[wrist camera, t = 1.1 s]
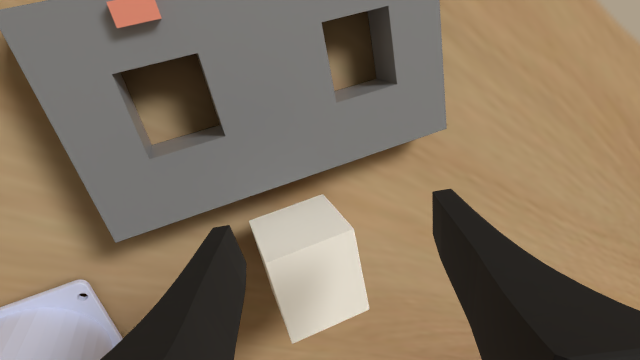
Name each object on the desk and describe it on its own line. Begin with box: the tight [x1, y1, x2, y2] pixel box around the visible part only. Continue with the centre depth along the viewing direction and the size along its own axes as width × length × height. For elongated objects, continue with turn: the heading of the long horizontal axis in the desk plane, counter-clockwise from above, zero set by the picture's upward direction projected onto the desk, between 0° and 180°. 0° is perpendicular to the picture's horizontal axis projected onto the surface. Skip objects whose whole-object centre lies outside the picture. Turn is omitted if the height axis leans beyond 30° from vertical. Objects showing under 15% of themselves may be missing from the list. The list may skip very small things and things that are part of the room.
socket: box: [0, 0, 447, 243], centre depth 20 cm, size 11×20×3 cm, turn 103°
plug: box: [249, 194, 369, 344], centre depth 23 cm, size 7×5×6 cm
